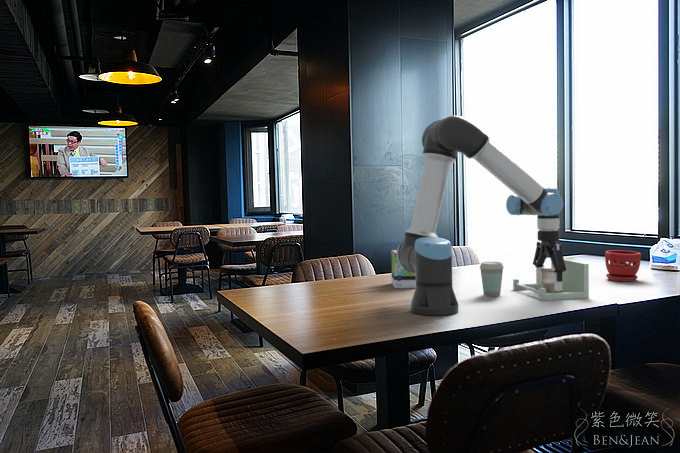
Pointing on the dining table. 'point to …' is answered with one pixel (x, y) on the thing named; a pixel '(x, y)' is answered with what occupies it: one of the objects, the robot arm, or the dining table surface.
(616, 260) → the plant pot
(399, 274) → the tea box
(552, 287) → the spool
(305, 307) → the dining table surface
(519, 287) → the pale green rack stand
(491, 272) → the coffee cup
